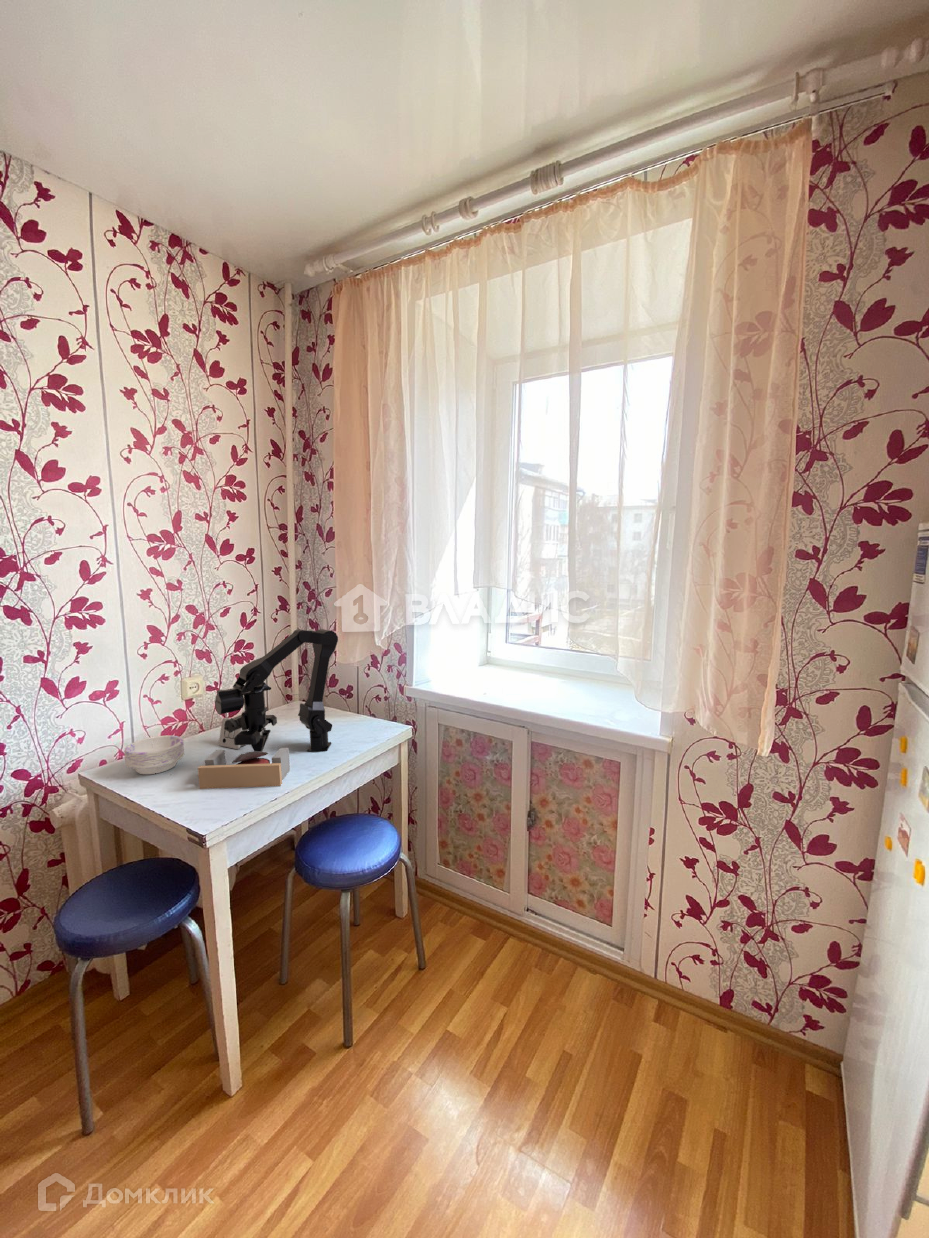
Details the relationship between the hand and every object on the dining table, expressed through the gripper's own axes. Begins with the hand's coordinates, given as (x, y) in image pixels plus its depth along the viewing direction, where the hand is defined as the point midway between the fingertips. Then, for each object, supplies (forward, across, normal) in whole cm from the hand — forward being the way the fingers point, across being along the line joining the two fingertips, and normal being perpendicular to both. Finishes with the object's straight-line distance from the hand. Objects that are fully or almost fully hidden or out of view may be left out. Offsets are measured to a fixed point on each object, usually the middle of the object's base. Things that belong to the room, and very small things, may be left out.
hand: (258, 756), depth 150 cm
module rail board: (+3, +8, 0) cm, 9 cm away
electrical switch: (+3, -18, -15) cm, 24 cm away
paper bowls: (+3, -1, -31) cm, 31 cm away
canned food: (+3, +6, 0) cm, 6 cm away
